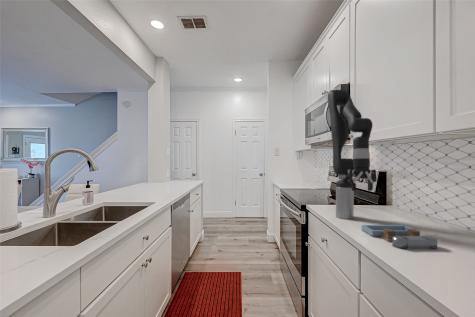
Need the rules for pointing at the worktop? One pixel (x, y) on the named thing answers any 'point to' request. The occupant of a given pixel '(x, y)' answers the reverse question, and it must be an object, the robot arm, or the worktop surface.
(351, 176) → the robot arm
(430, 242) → the steel dumbbell
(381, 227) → the slate-blue tray
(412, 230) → the wooden plank with blocks
